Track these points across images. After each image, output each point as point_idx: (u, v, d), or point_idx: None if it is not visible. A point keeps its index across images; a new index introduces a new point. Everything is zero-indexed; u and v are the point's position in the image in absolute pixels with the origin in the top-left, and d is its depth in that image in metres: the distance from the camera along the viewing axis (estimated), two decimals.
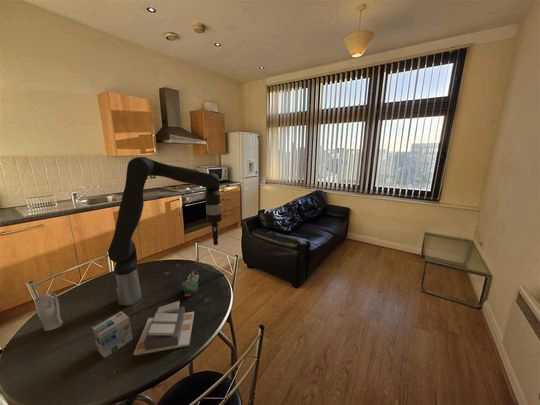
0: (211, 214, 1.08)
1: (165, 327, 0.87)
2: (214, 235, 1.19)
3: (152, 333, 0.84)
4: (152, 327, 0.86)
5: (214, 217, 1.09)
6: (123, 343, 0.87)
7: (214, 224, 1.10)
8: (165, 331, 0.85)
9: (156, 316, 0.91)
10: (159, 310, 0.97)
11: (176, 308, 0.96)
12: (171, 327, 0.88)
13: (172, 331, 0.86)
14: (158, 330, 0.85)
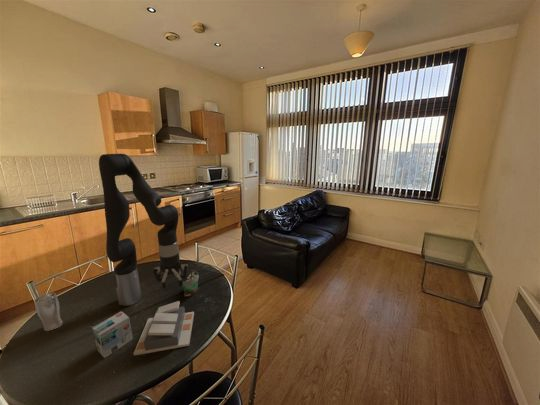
0: (177, 252, 0.92)
1: (165, 327, 0.87)
2: (166, 285, 0.95)
3: (152, 333, 0.84)
4: (152, 327, 0.86)
5: (178, 254, 0.93)
6: (123, 343, 0.87)
7: (179, 262, 0.94)
8: (165, 331, 0.85)
9: (156, 316, 0.91)
10: (159, 310, 0.97)
11: (176, 308, 0.96)
12: (171, 327, 0.88)
13: (172, 331, 0.86)
14: (158, 330, 0.85)
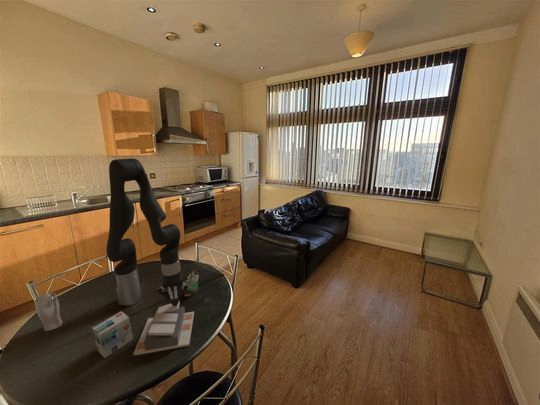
0: (179, 270, 0.94)
1: (165, 327, 0.87)
2: None
3: (152, 333, 0.84)
4: (152, 327, 0.86)
5: (180, 272, 0.95)
6: (123, 343, 0.87)
7: (181, 280, 0.96)
8: (165, 331, 0.85)
9: (156, 316, 0.91)
10: (159, 310, 0.97)
11: (176, 308, 0.96)
12: (171, 327, 0.88)
13: (172, 331, 0.86)
14: (158, 330, 0.85)
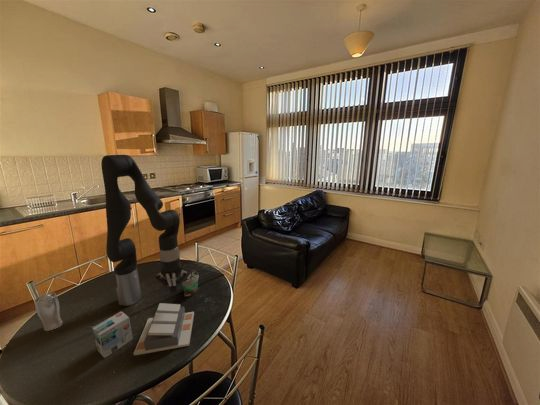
0: (178, 257, 0.92)
1: (165, 327, 0.87)
2: None
3: (152, 333, 0.84)
4: (152, 327, 0.86)
5: (179, 258, 0.94)
6: (123, 343, 0.87)
7: (180, 267, 0.94)
8: (165, 331, 0.85)
9: (156, 316, 0.91)
10: (160, 307, 0.97)
11: (178, 312, 0.97)
12: (171, 327, 0.88)
13: (172, 331, 0.86)
14: (158, 330, 0.85)
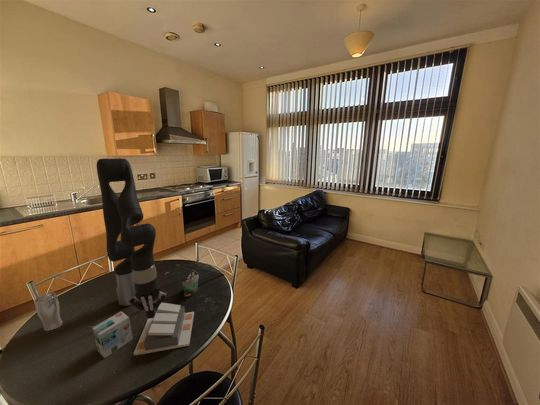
0: (154, 277, 0.80)
1: (165, 327, 0.87)
2: None
3: (152, 333, 0.84)
4: (152, 327, 0.86)
5: (156, 279, 0.81)
6: (123, 343, 0.87)
7: (158, 288, 0.82)
8: (165, 331, 0.85)
9: (156, 316, 0.91)
10: (160, 306, 0.97)
11: (178, 313, 0.97)
12: (171, 327, 0.88)
13: (172, 331, 0.86)
14: (158, 330, 0.85)
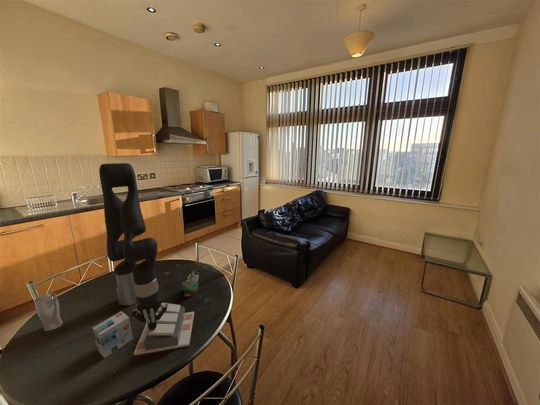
0: (156, 290, 0.81)
1: (165, 327, 0.87)
2: None
3: (152, 333, 0.84)
4: None
5: (158, 291, 0.83)
6: (123, 343, 0.87)
7: (159, 301, 0.83)
8: (165, 331, 0.85)
9: None
10: None
11: (178, 312, 0.97)
12: (171, 327, 0.88)
13: (172, 331, 0.86)
14: (158, 330, 0.85)
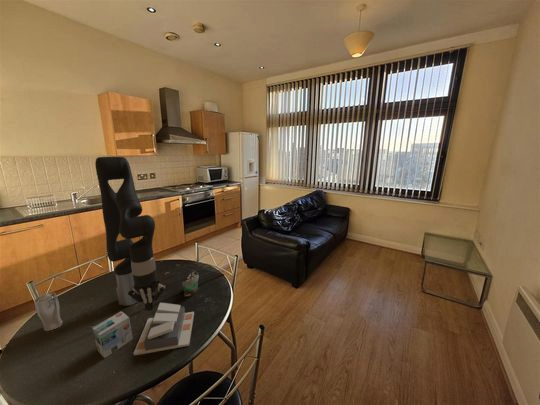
0: (153, 270, 0.79)
1: (163, 326, 0.87)
2: None
3: (152, 336, 0.84)
4: (151, 331, 0.86)
5: (155, 271, 0.81)
6: (123, 343, 0.87)
7: (157, 280, 0.82)
8: (163, 330, 0.85)
9: (156, 316, 0.91)
10: (160, 306, 0.97)
11: (178, 312, 0.97)
12: (169, 324, 0.87)
13: (170, 327, 0.85)
14: (157, 331, 0.85)
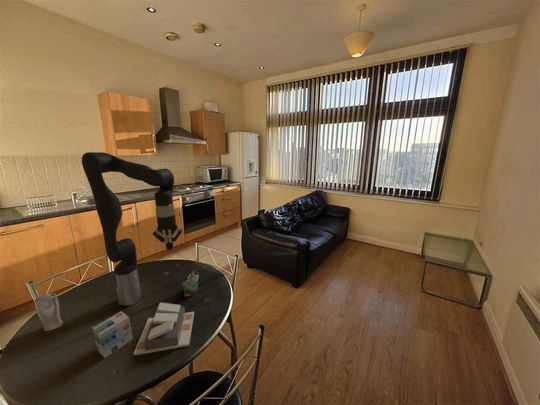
0: (173, 214, 0.97)
1: (163, 326, 0.87)
2: None
3: (152, 337, 0.84)
4: (151, 332, 0.86)
5: None
6: (123, 343, 0.87)
7: (175, 224, 1.00)
8: (163, 330, 0.85)
9: (156, 316, 0.91)
10: (160, 306, 0.97)
11: (178, 312, 0.97)
12: (168, 324, 0.87)
13: (169, 327, 0.85)
14: (156, 332, 0.85)
